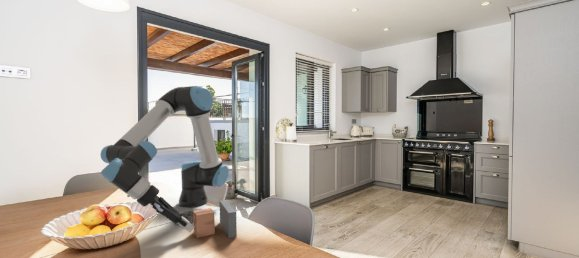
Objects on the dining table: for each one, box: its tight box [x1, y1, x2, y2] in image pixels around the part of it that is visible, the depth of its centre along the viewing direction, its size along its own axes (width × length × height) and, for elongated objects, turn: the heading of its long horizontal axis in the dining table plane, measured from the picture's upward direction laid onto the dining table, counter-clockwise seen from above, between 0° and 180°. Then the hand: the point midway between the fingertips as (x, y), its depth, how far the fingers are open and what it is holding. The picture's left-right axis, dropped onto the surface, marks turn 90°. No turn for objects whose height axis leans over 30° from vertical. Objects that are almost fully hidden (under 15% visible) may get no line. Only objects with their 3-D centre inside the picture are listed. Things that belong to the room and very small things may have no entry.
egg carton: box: [181, 208, 195, 223], centre depth 125 cm, size 11×8×4 cm
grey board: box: [219, 199, 238, 239], centre depth 115 cm, size 18×3×10 cm, turn 25°
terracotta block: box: [192, 207, 216, 239], centre depth 111 cm, size 6×7×9 cm
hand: (192, 229), depth 108 cm, fingers closed
